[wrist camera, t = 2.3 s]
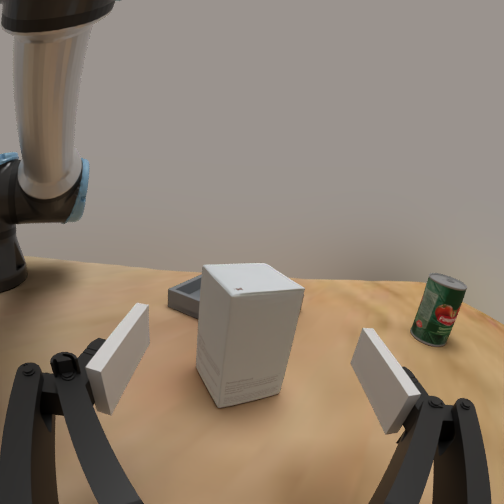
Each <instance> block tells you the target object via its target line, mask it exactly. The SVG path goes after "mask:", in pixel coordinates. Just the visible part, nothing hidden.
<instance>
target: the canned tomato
mask: <svg viewBox="0 0 504 504" xmlns="http://www.w3.org/2000/svg"><path fill="white" fill-rule="evenodd" d="M466 289H467V286H466V285H465V284H464V283H463V282H461V281H459V280H457V279H454V278H452V277H449V276H446V275H443V274H438V273H430V274H429V278H428V281H427V284H426V288H425V291H424V294H423V297H422V300H421V303H420V306H419V309H418V312H417V315H416V317H415V320H414V323H413V326H412V328H411V330H410V331H411V334H412V335H413V337H414V338H415V339H417V340H418V341H420V342H422V343H424V344H426V345H429V346H434V347H441V346H444V345H445V344H446V342H447V339H448V337H449V335H450V332H451V330H452V327H453V325H454V322H455V320H456V317H457V315H458V312H459V309H460V307H461V303H462V301H463V298H464V295H465V292H466Z"/></svg>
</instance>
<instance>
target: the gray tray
mask: <svg viewBox="0 0 504 504" xmlns="http://www.w3.org/2000/svg"><path fill="white" fill-rule="evenodd" d="M201 277H202V274H201V275H199V276H197V277H195V278H192V279H190V280H188V281H186V282H183V283H181V284H179V285H177V286H174V287H172V288H170V289H168V307H171V308H173V309H175V310H178V311H180V312H182V313H185V314H187V315H189V316H192V317H194V318H197V319H199V303H200V289H201ZM303 297H304V294H303ZM302 302H303V298H302ZM301 306H302V303H301ZM300 310H301V308H300Z"/></svg>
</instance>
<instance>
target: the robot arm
mask: <svg viewBox="0 0 504 504" xmlns="http://www.w3.org/2000/svg"><path fill="white" fill-rule="evenodd" d="M117 1H120V0H117ZM114 3H115V0H0V4H3V9H2V10H3V11H2V22H1V26H2V29H3V30H4V31H5V32H7V33H9V34H11V35H12V36H14V48H13V49H14V50H13V80H14V99H15V111H16V121H17V128H18V135H19V142H20V148H21V153H22V160H18V159H19V157H18V154H17V153H15V152H12V153H4V154H0V292H2V291H5V290H8V289H11V288H13V287H15V286H17V285H19V284H20V283H22V282H23V281H24V280H25V279H26V277H27V267H26V262H25V259H24V257H23V254H22V251H21V249H20V246H19V243H18V240H17V237H16V224H25V223H26V224H27V223H63V224H65V223H67V222H76V221H78V220H79V219H80V218H81V217H82V215H83V212H84V207H85V201H86V200H85V199H86V198H85V197H86V193H87V187H88V179H89V162H88V160H86V159H83V158H81V156H80V153H79V152H78V150H77V149H76V147H75V146H74V133H75V121H76V111H77V102H78V94H79V87H80V81H81V75H82V69H83V64H84V58H85V54H86V50H87V45H88V41H89V37H90V33H91V29H92V25H93V24H95V23H97V22H98V21H100V20H101V19H103V18H105V17H106V16H107V15H109V14H110V12H111V11H112V8H113V5H114ZM149 344H150V337H149V305H146V304H140V303H136V304H135V306H134V307H133V308H132V309H131V310H130V312H129V313H128V314H127V315H126V316H125V318H124V319H123V320H122V321H121V323H120V324H119V325H118V326H117V327H116V329H115V330H114V331H113V332H112V334H111V335H110V336H109V337H108V339H107V340H105V339H101V338H98V339H96V340H94V341H92V342H91V343H90V344H89V345H88V347H87V349H85V350H84V351H83V353H82V354H81V355H80V356H79V357H78V358H77V357H76V356H75V355H74V354H72V353H69V352H61V353H57V354H56V355H54V356H53V357H52V358H51V361H50V364H51V367H52V370H53V374H50V373H42V371H41V368H40V367H39V365H37V364H35V363H25V364H22V365H21V366H20V367H19V368H18V370H17V372H16V376H15V379H14V383H13V387H12V391H11V395H10V399H9V404H8V409H7V414H6V419H5V425H4V431H3V437H2V445H1V454H0V504H59V502H58V493H57V483H56V469H55V415H62V416H64V417H65V421H66V424H67V427H68V430H69V434H70V437H71V440H72V442H73V445H74V448H75V451H76V454H77V456H78V459H79V461H80V464H81V466H82V469H83V471H84V474H85V476H86V478H87V481H88V483H89V485H90V487H91V489H92V491H93V494H94V496H95V498H96V500H97V502H98V504H144V503H143V502H142V500H141V499H140V497H139V496H138V494H137V493H136V491H135V489H134V488H133V486H132V485H131V483H130V481H129V479H128V478H127V476H126V474H125V472H124V471H123V469H122V467H121V465H120V463H119V462H118V460H117V458H116V456H115V454H114V452H113V450H112V448H111V446H110V444H109V442H108V440H107V438H106V435H105V433H104V431H103V429H102V427H101V424H100V422H99V420H98V417H97V415H96V413H95V410H94V408H93V405H94V403H95V405H96V409H97V411H99V412H102V413H105V414H108V415H112V413H113V411H114V409H115V407H116V405H117V404H118V402H119V400H120V398H121V396H122V394H123V392H124V390H125V388H126V386H127V384H128V382H129V381H130V379H131V377H132V375H133V373H134V371H135V369H136V368H137V366H138V364H139V362H140V360H141V358H142V357H143V355H144V353H145V351H146V349H147V347H148V346H149ZM351 365H352V367H353V369H354V371H355V373H356V375H357V377H358V379H359V381H360V383H361V385H362V387H363V389H364V391H365V393H366V395H367V397H368V399H369V401H370V403H371V406H372V408H373V410H374V412H375V414H376V416H377V418H378V420H379V422H380V424H381V426H382V428H383V431H384V433H385V435H386V434H392V433H398V431H399V430H400V428H401V426H402V425H403V426H404V428H405V431H404V432H403V434H402V435H401V437H400V438H399V440H398V441H397V442H396V443H397V444H398V446H397V448H396V450H395V453H394V455H393V457H392V459H391V461H390V464H389V466H388V468H387V470H386V472H385V474H384V476H383V478H382V480H381V482H380V484H379V486H378V487H377V489H376V491H375V493H374V495H373V497H372V498H371V500H370V502H369V503H368V504H419V502H420V499H421V497H422V494H423V491H424V488H425V486H426V483H427V480H428V476H429V473H430V470H431V467H432V463H433V460H434V481H433V501H432V504H491V491H490V482H489V473H488V466H487V460H486V454H485V449H484V444H483V439H482V434H481V430H480V425H479V421H478V417H477V414H476V410H475V406H474V404H473V403H472V402H471V401H470V400H468V399H465V398H460V399H458V400H457V401H456V403H455V404H454V405H445V404H444V402H443V401H442V400H441V399H440V398H438V397H435V396H429V395H428V394H427V392H426V391H425V390H424V388H423V387H422V385H421V384H420V383H418V382H419V381H418V380H417V379H416V378H415V376H414V375H413V373H412V372H411V371H410V370H409V369H407V368H406V367H401V365H400V364H399V363H398V361H397V360H396V359H395V357H394V356H393V355H392V353H391V352H390V350H389V349H388V348H387V346H386V345H385V344H384V342H383V341H382V340H381V338H380V337H379V336H378V335H377V333H376V332H375V331H374V329H373V328H362V331H361V334H360V337H359V340H358V343H357V346H356V349H355V352H354V355H353V358H352V360H351Z"/></svg>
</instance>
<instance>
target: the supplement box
mask: <svg viewBox="0 0 504 504" xmlns="http://www.w3.org/2000/svg"><path fill="white" fill-rule="evenodd" d="M304 290H305V288H303V287H302V286H300V285H299V284H297V283H295V282H294V281H292V280H291V279H289V278H288V277H286V276H284V275H283V274H281V273H280V272H278V271H277V270H275V269H273V268H272V267H270V266H269V265H267V264H266V263H251V264H250V263H248V264H218V265H203V268H202V277H201V289H200V303H199V319H198V336H197V355H196V368H197V370H198V372H199V374H200V376H201V378H202V380H203V382H204V383H205V385H206V387H207V389H208V391H209V393H210V394H211V396H212V398H213V400H214V402H215V403H216V405H217V407H218V408H222V407H227V406H232V405H236V404H241V403H245V402H249V401H254V400H258V399H261V398H265V397H269V396H272V395H276V394H278V393H280V390H281V386H282V382H283V379H284V375H285V371H286V367H287V363H288V359H289V355H290V351H291V347H292V343H293V339H294V334H295V330H296V326H297V321H298V317H299V312H300V308H301V303H302V298H303V294H304Z"/></svg>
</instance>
